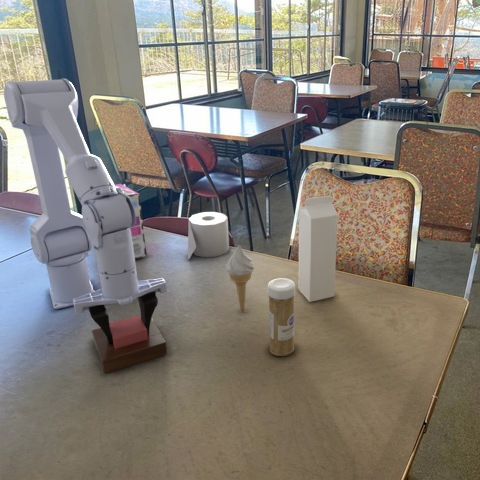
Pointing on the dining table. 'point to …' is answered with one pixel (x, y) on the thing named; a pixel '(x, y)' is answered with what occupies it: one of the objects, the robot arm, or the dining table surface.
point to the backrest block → (129, 349)
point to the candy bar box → (136, 224)
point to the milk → (317, 248)
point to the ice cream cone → (240, 273)
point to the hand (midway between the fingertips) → (128, 336)
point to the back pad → (128, 331)
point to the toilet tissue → (208, 234)
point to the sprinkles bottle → (281, 316)
